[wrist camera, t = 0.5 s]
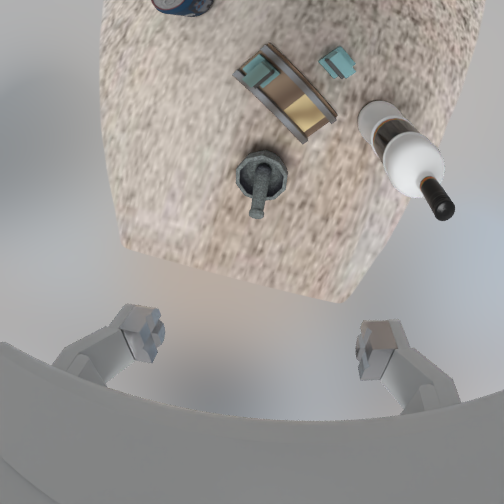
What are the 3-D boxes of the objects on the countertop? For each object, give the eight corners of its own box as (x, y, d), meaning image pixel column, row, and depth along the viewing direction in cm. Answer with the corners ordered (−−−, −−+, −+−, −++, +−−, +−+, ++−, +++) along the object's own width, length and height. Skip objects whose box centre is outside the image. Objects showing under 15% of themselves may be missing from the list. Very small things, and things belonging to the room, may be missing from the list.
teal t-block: (339, 46, 35) (346, 46, 30) (353, 63, 37) (363, 66, 31) (318, 61, 38) (321, 64, 33) (332, 77, 40) (338, 83, 34)
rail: (234, 74, 42) (220, 81, 36) (269, 43, 37) (263, 42, 30) (300, 139, 50) (300, 159, 43) (336, 113, 45) (344, 128, 38)
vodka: (400, 99, 40) (488, 174, 18) (401, 143, 46) (469, 244, 24) (354, 100, 42) (411, 173, 21) (358, 144, 48) (401, 249, 27)
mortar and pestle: (243, 139, 52) (230, 165, 43) (290, 144, 51) (288, 172, 42) (241, 186, 59) (230, 219, 51) (284, 192, 59) (280, 226, 50)
